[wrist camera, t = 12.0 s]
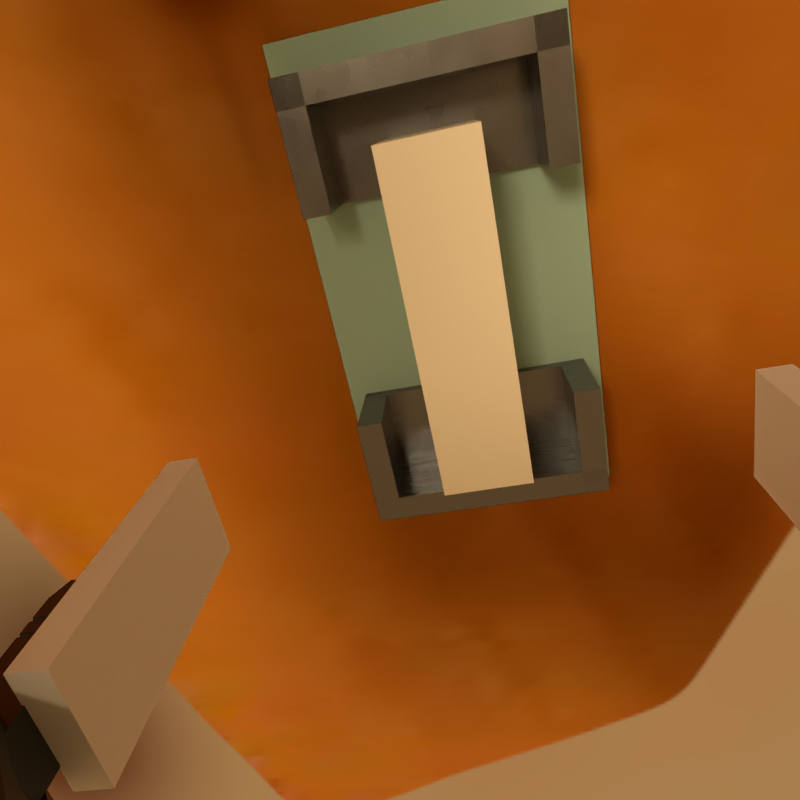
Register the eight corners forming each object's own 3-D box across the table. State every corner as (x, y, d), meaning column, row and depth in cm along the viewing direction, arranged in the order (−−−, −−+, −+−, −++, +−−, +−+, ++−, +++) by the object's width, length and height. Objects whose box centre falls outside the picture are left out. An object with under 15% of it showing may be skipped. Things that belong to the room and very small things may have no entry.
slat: (384, 139, 29) (370, 145, 23) (473, 119, 28) (481, 121, 23) (444, 435, 35) (444, 495, 29) (519, 423, 34) (533, 482, 29)
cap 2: (592, 450, 35) (609, 489, 31) (386, 480, 36) (380, 520, 33) (583, 358, 33) (600, 388, 29) (365, 394, 34) (356, 427, 31)
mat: (264, 45, 28) (262, 44, 28) (563, -28, 27) (565, -30, 26) (380, 503, 38) (379, 507, 37) (608, 471, 36) (609, 475, 35)
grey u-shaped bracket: (290, 83, 29) (267, 78, 25) (550, 21, 27) (566, 7, 23) (320, 207, 31) (303, 220, 27) (563, 156, 29) (580, 163, 25)
